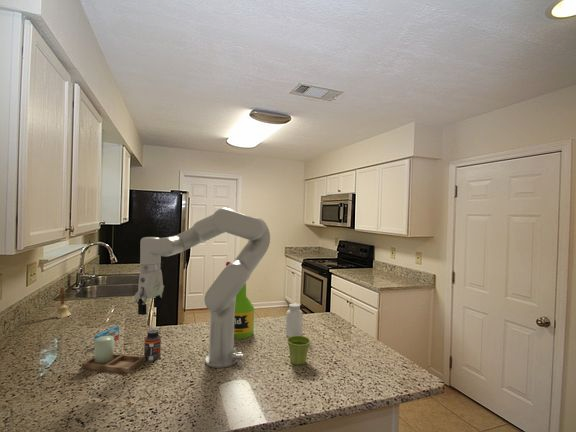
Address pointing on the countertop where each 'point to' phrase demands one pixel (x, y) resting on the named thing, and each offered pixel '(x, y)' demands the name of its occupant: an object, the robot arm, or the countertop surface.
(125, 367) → the caddy
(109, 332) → the yogurt
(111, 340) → the pale green cylinder
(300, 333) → the pill bottle
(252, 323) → the spray bottle
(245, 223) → the robot arm
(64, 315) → the hand bell
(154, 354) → the supplement bottle
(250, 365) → the countertop surface
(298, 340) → the plant pot
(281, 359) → the countertop surface
